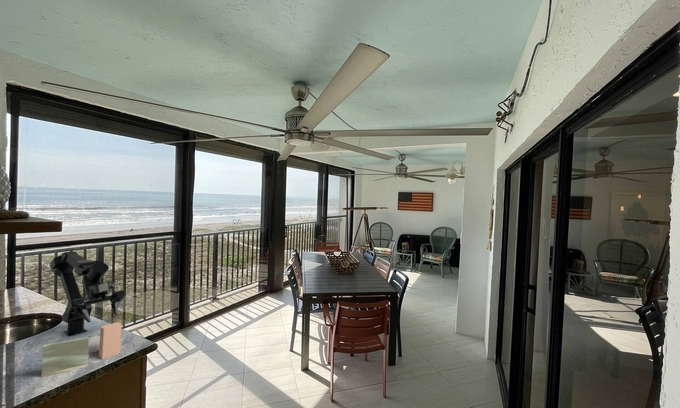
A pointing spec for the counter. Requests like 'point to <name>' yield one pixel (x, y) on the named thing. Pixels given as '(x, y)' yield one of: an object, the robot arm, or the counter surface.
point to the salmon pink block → (110, 340)
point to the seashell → (94, 344)
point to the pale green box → (65, 356)
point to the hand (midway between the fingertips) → (103, 318)
